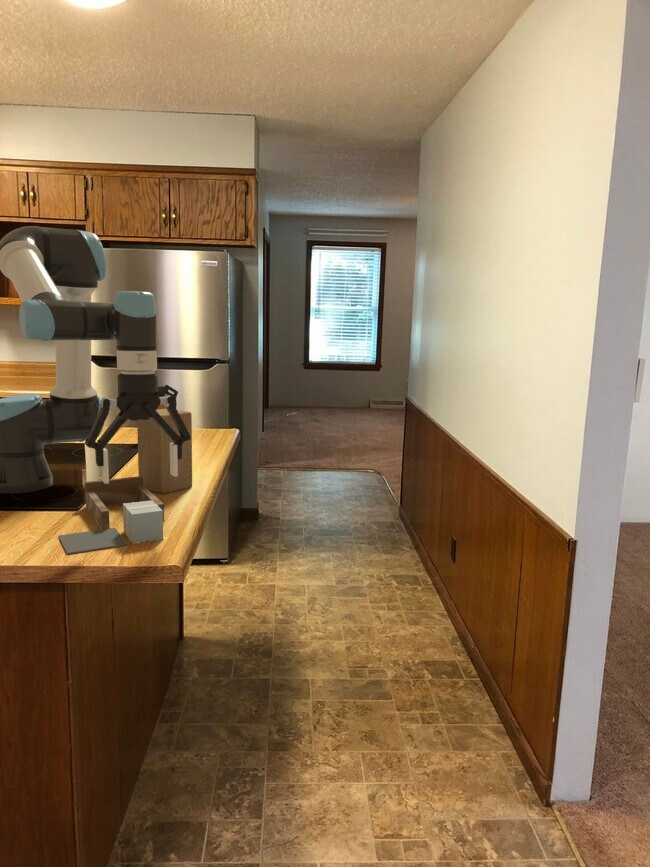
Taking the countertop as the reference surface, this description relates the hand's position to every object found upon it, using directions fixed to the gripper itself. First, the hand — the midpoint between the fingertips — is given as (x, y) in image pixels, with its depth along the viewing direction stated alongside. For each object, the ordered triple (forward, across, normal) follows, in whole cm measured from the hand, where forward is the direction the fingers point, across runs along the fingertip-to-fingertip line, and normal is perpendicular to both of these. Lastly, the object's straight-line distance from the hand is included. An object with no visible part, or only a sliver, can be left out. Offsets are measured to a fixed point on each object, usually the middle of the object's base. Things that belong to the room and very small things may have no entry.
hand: (140, 478), depth 127 cm
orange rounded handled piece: (+11, +33, +100) cm, 106 cm away
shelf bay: (+12, 0, +16) cm, 20 cm away
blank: (+12, 0, 0) cm, 12 cm away
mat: (+12, -10, +1) cm, 15 cm away
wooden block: (+12, +15, +35) cm, 40 cm away
